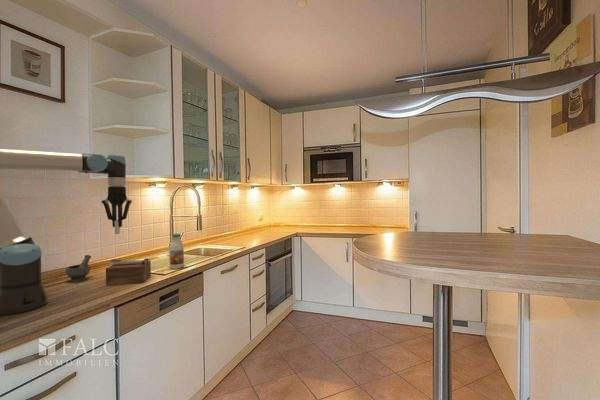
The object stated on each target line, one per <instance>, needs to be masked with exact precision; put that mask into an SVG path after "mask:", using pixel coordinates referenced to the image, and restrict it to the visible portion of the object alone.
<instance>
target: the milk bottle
mask: <svg viewBox="0 0 600 400" xmlns="http://www.w3.org/2000/svg"><path fill="white" fill-rule="evenodd" d="M171 238H172V240H171V243H170V246H169V255H168V259H169V269H170V270H178V269H177V268H180V269H182V268H181V267H183V268H184V267H185V260H184V259H185V256H184V254H185V251H184V250H185V249H184V245H183V242H182V241H181V238H182V237H181V233H172V235H171Z"/></svg>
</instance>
